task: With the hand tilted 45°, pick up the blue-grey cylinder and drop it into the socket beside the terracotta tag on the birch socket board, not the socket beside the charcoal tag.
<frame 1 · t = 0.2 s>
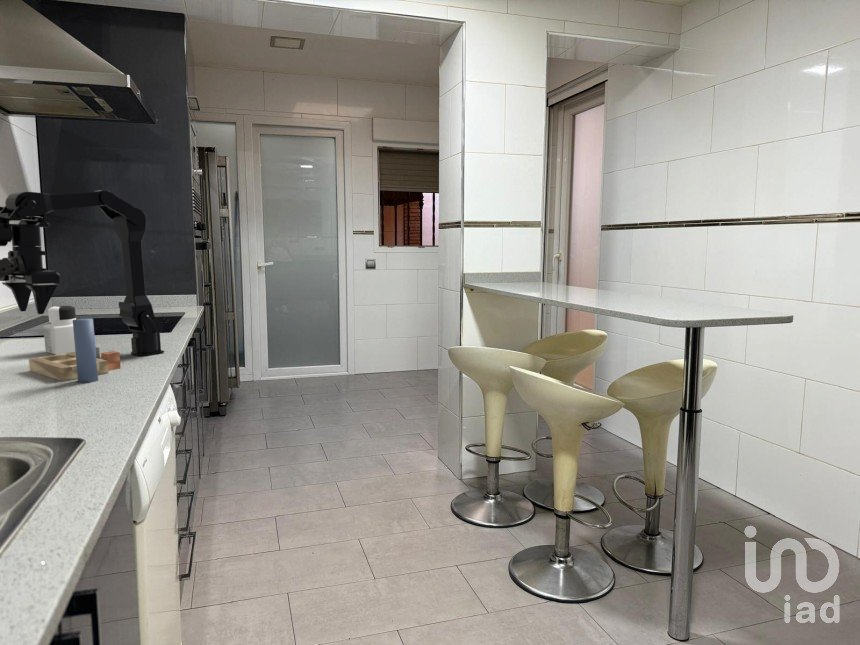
hand: (31, 312, 144), 15 cm above the worktop, tool pointing down, fingers open, 9 cm apart
container: (65, 352, 172), on the worktop
socket board: (68, 371, 147), on the worktop
blue-grey cylinder: (88, 380, 138), on the worktop
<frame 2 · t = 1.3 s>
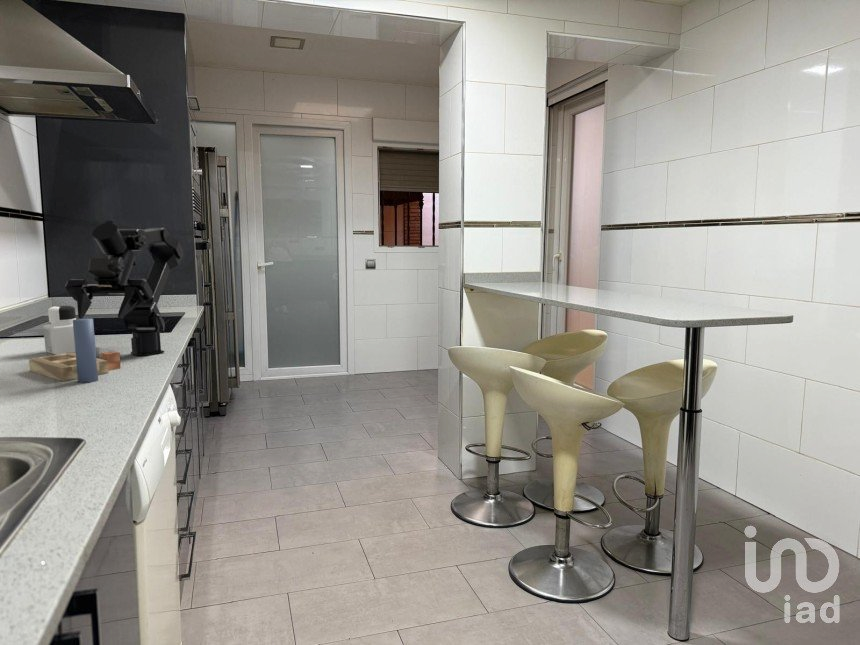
hand: (99, 317, 143), 13 cm above the worktop, tool tilted 45°, fingers open, 9 cm apart
nothing on the worktop moved.
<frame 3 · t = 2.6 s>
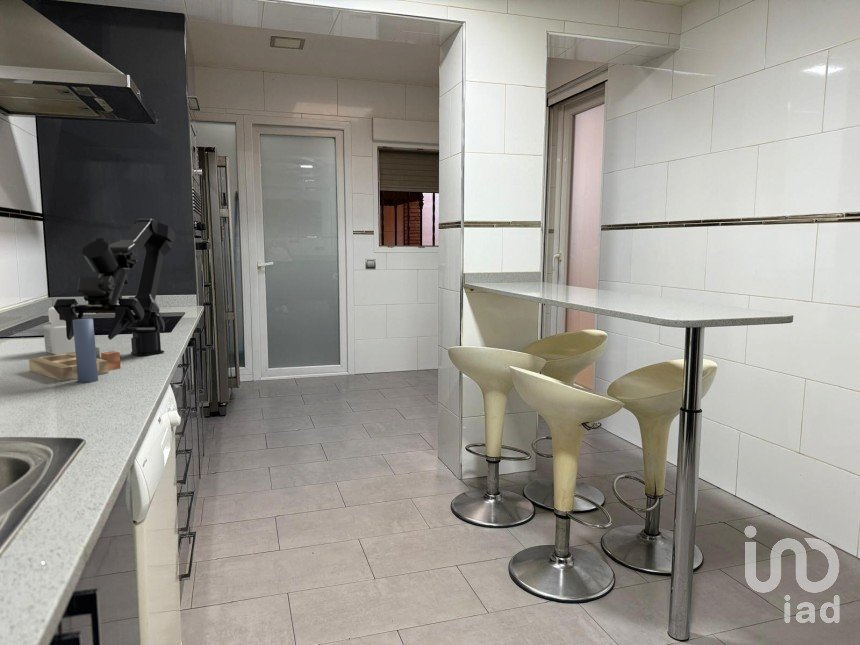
hand: (88, 338, 138), 9 cm above the worktop, tool tilted 45°, fingers open, 9 cm apart
nothing on the worktop moved.
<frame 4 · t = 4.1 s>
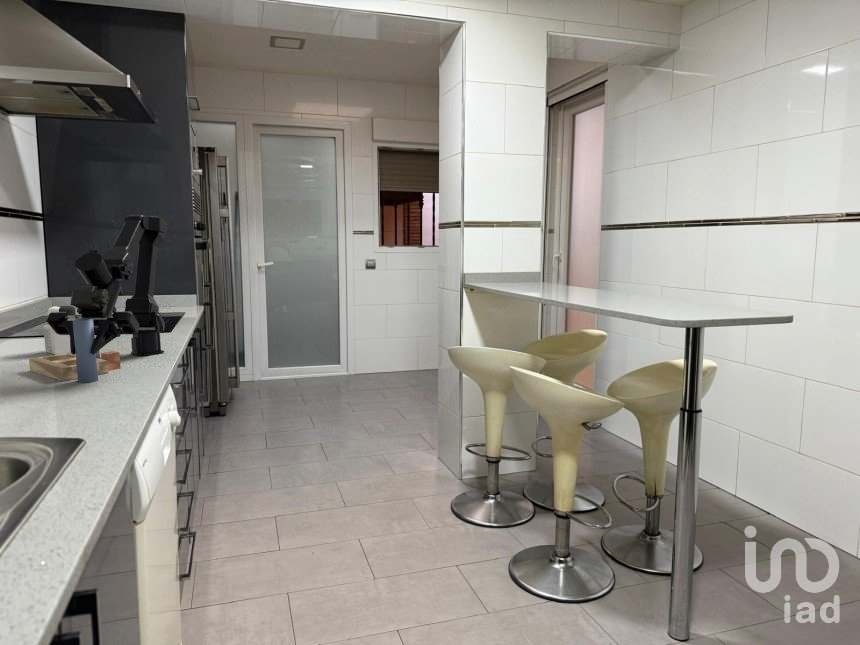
hand: (82, 353, 136), 7 cm above the worktop, tool tilted 45°, fingers closed on blue-grey cylinder, 4 cm apart
blue-grey cylinder: (88, 380, 138), on the worktop, touching gripper
everything else where it was.
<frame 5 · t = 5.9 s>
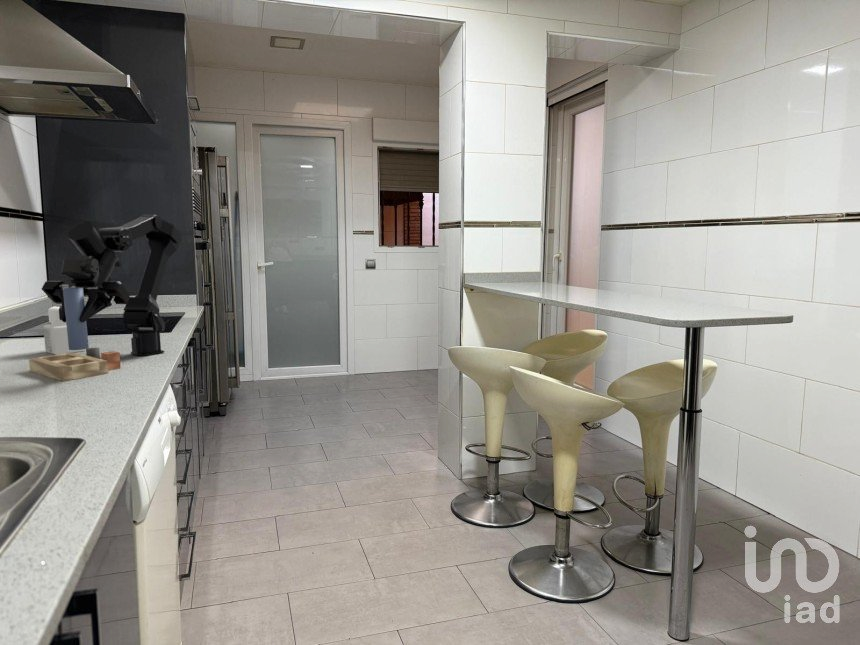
hand: (72, 321, 138), 13 cm above the worktop, tool tilted 45°, fingers closed on blue-grey cylinder, 4 cm apart
blue-grey cylinder: (78, 348, 141), point 7 cm above the worktop, touching gripper
everything else where it was.
when the fingers open (8 cm above the worktop, at t = 7.8 s): blue-grey cylinder drops 1 cm, resting in socket board.
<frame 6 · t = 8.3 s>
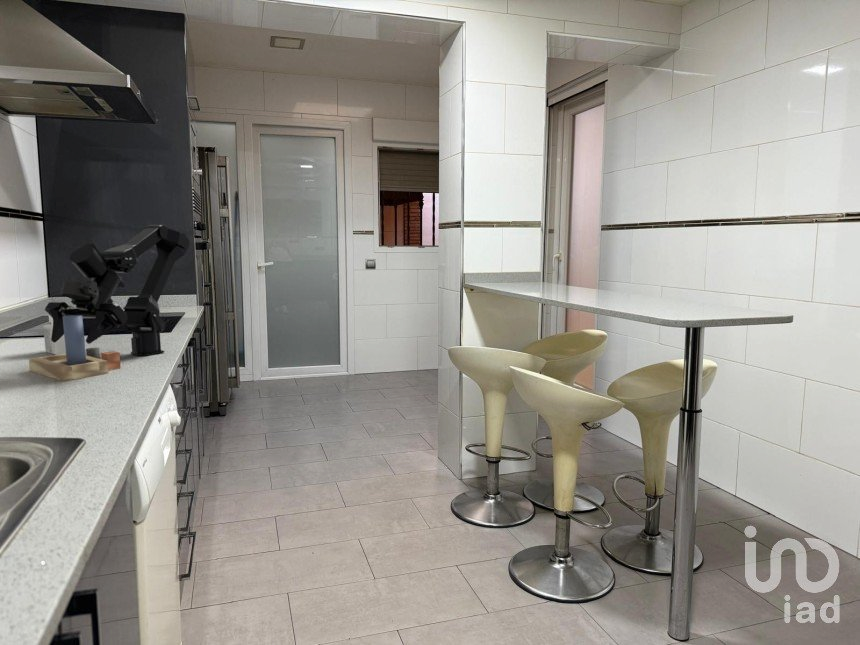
hand: (70, 342, 142), 8 cm above the worktop, tool tilted 45°, fingers open, 9 cm apart
blue-grey cylinder: (77, 374, 144), resting in socket board
everything else where it was.
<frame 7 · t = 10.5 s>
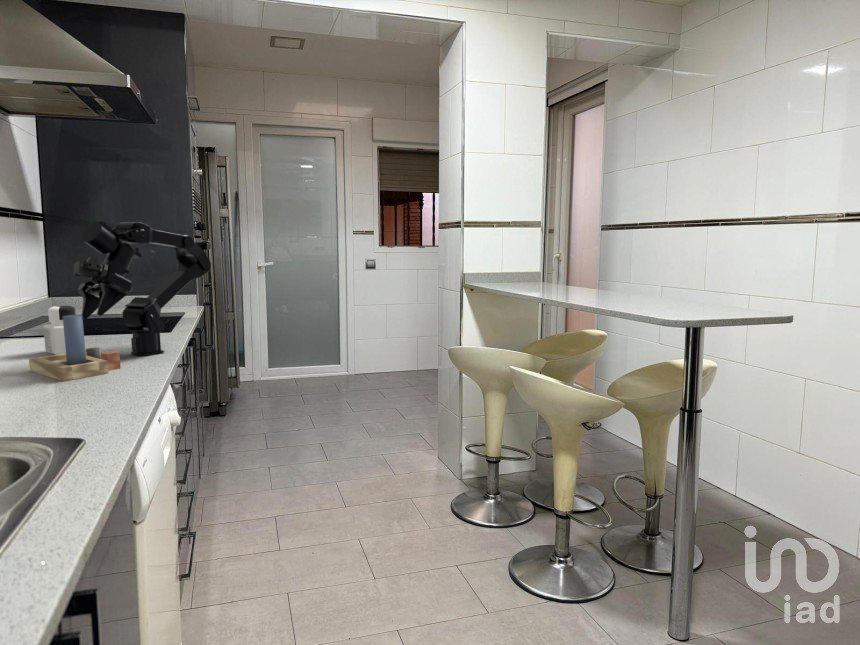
hand: (91, 317, 152), 12 cm above the worktop, tool tilted 35°, fingers open, 9 cm apart
nothing on the worktop moved.
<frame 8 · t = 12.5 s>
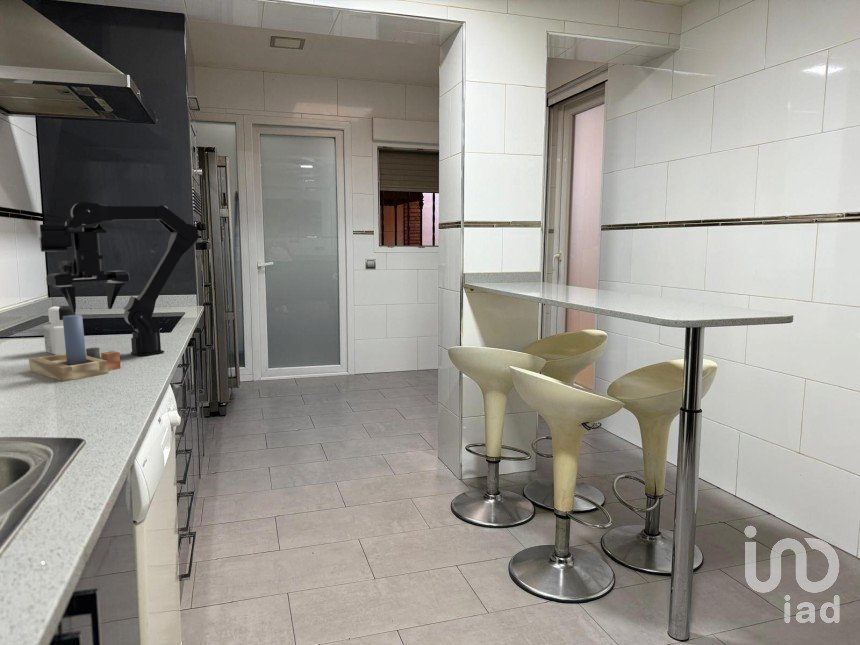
hand: (92, 310, 160), 13 cm above the worktop, tool pointing down, fingers open, 9 cm apart
nothing on the worktop moved.
at the end: blue-grey cylinder 0.0 cm from the target spot on the socket board, point 0.0 cm above the socket board's base; blue-grey cylinder tilted 0°; the gripper is holding nothing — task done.
